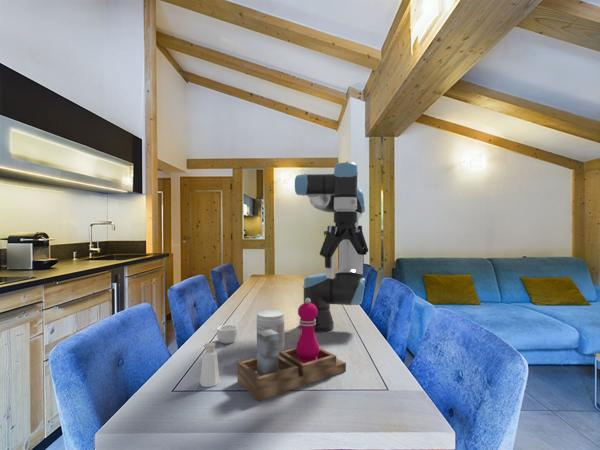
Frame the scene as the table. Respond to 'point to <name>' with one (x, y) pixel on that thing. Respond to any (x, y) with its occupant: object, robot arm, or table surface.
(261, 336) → the wooden condiment caddy
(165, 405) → the table surface
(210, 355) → the pepper shaker
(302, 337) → the pepper mill
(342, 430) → the table surface
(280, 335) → the supplement tub
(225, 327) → the teacup
